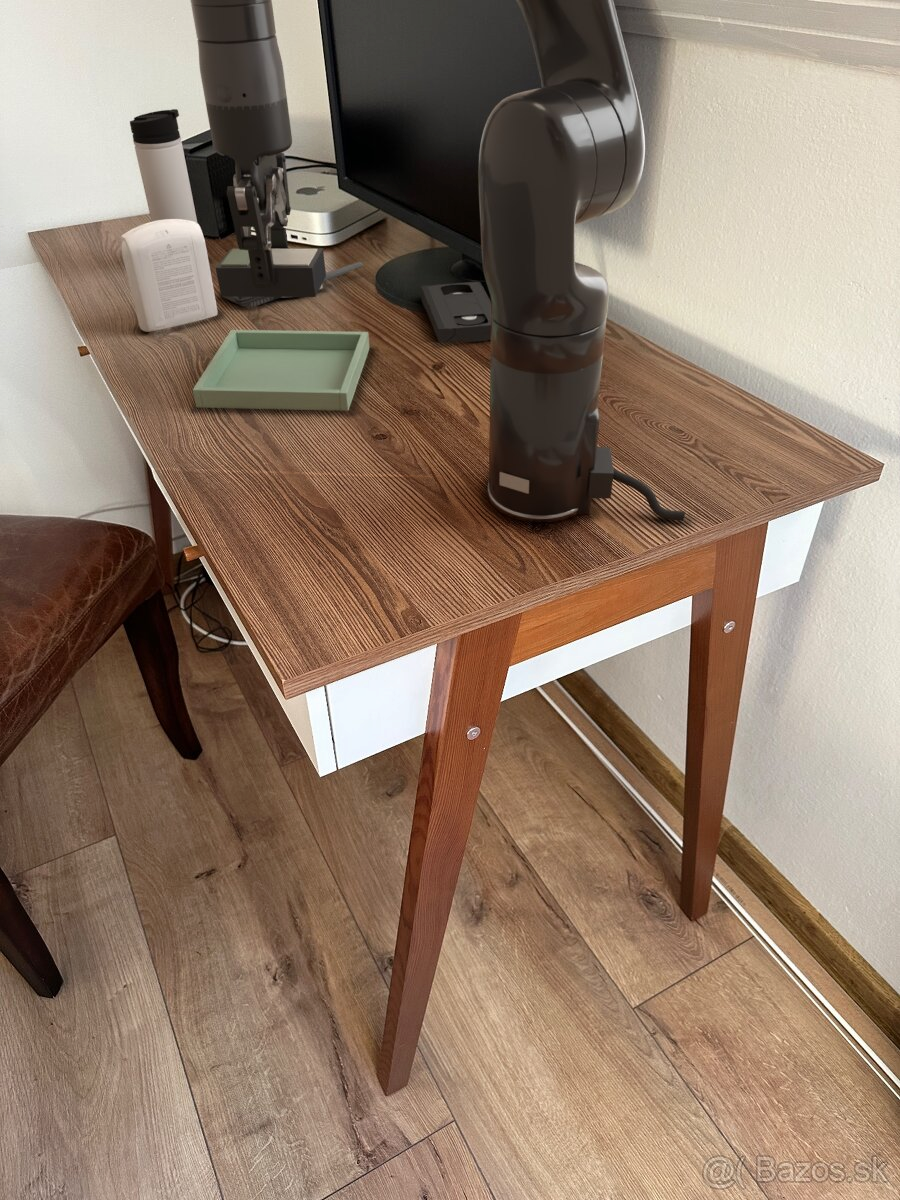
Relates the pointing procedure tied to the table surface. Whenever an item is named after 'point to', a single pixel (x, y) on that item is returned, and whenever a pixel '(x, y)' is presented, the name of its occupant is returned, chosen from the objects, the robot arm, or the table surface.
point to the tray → (284, 370)
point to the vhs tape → (458, 311)
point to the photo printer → (168, 273)
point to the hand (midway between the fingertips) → (272, 274)
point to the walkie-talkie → (261, 300)
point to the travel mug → (163, 165)
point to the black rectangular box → (293, 272)
